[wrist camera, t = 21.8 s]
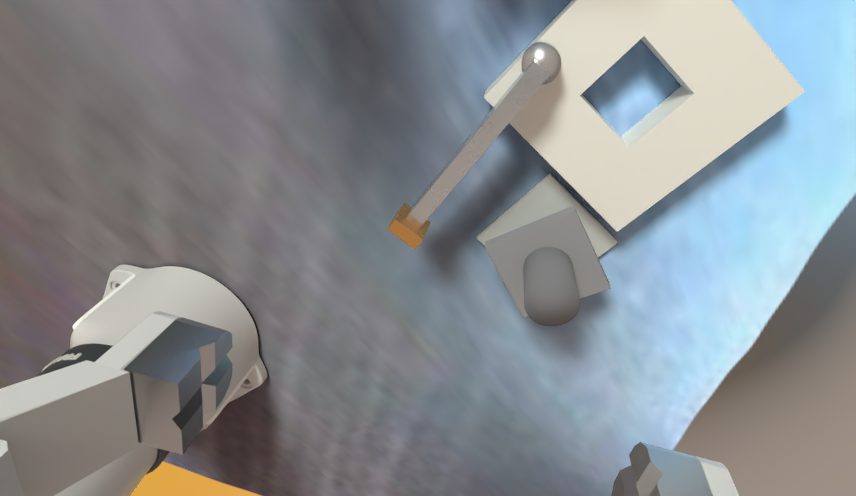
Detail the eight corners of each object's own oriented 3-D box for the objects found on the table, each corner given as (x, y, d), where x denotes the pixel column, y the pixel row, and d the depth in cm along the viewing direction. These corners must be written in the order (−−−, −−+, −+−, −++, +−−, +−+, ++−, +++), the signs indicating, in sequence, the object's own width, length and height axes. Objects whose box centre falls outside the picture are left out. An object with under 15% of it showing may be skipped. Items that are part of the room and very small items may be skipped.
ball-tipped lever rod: (539, 32, 32) (541, 39, 28) (567, 57, 32) (573, 67, 28) (400, 205, 39) (387, 229, 35) (425, 223, 39) (414, 249, 35)
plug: (522, 288, 44) (524, 357, 36) (487, 222, 41) (480, 281, 33) (602, 259, 41) (622, 327, 33) (569, 187, 39) (583, 242, 31)
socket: (611, 215, 40) (617, 231, 37) (486, 89, 37) (483, 97, 34) (782, 83, 34) (805, 91, 31) (649, -81, 31) (661, -87, 28)
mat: (541, 295, 44) (541, 298, 44) (477, 235, 42) (476, 238, 42) (617, 239, 41) (618, 242, 40) (549, 172, 39) (549, 174, 39)
